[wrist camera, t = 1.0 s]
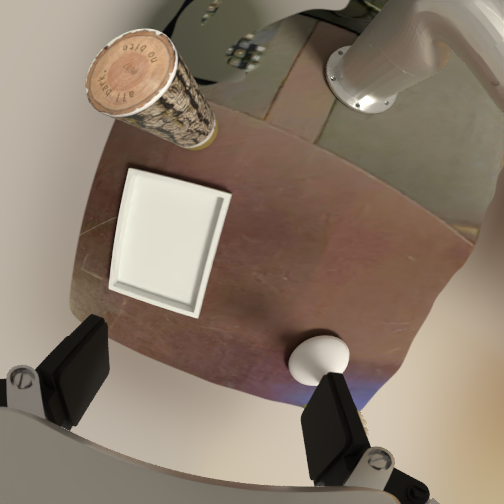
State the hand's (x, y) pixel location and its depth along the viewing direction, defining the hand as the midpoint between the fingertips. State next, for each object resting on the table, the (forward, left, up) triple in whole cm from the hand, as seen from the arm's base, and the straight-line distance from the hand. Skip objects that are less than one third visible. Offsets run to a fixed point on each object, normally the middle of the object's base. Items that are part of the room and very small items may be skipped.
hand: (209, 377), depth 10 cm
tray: (+5, -11, -32) cm, 34 cm away
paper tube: (-13, -11, -33) cm, 37 cm away
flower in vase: (+18, +19, -33) cm, 42 cm away
